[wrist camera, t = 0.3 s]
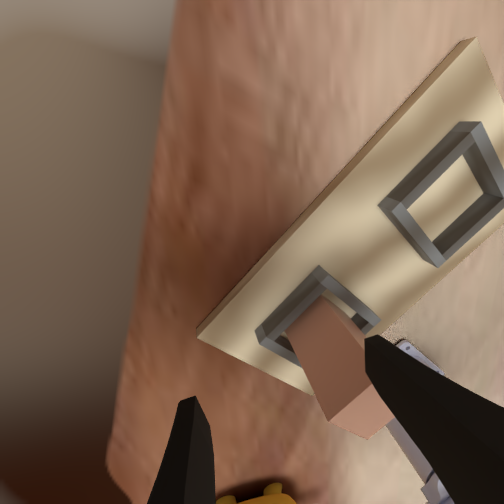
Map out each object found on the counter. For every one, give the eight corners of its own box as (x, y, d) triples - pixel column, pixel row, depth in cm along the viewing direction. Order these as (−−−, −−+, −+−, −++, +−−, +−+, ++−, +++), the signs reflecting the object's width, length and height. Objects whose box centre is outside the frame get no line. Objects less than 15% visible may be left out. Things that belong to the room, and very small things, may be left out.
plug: (346, 313, 23) (418, 398, 16) (312, 345, 24) (367, 439, 17) (316, 290, 21) (383, 374, 14) (281, 325, 22) (328, 421, 15)
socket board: (525, 188, 23) (562, 195, 21) (308, 387, 28) (319, 410, 25) (461, 41, 17) (503, 28, 14) (196, 328, 21) (197, 352, 19)
